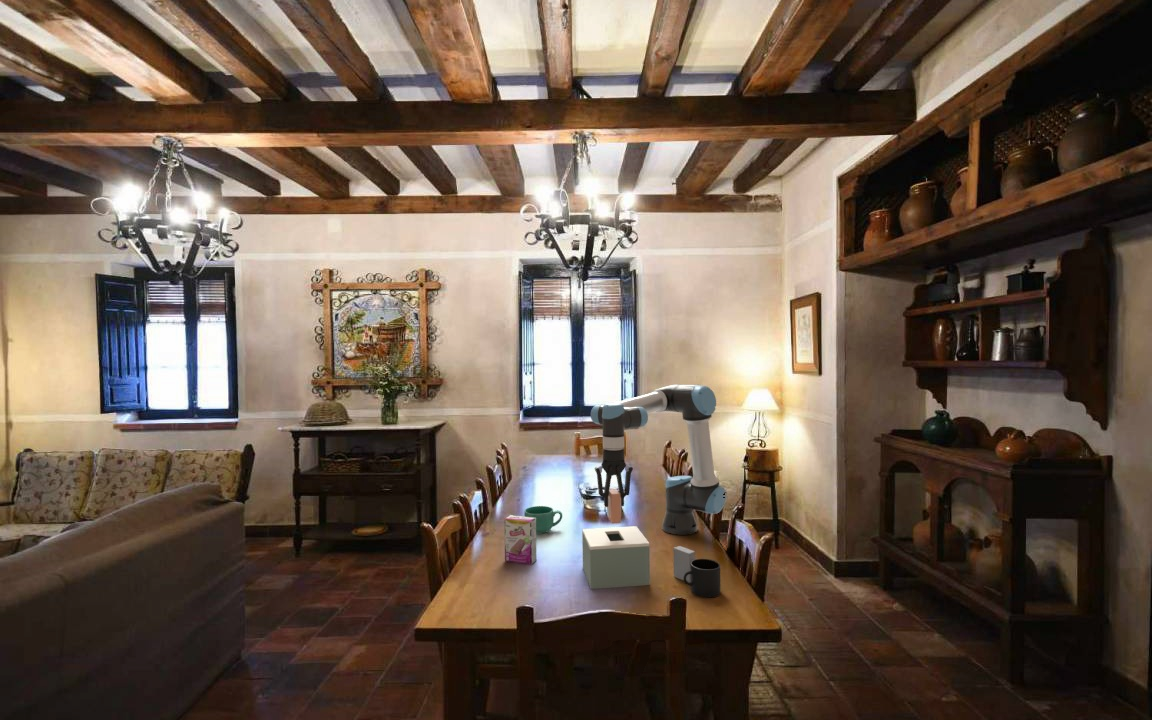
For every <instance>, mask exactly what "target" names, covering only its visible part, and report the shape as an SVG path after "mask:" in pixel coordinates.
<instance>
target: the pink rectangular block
mask: <svg viewBox="0 0 1152 720" xmlns="http://www.w3.org/2000/svg"><path fill="white" fill-rule="evenodd" d="M609 497H610V498H611V517H608V516H607V517H608V520H609V522H611V524H621V522H622V519H621V517H622V507H621V508H620V493H619V489H618V488H610V489H609Z"/></svg>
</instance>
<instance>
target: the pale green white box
mask: <svg viewBox="0 0 1152 720" xmlns="http://www.w3.org/2000/svg"><path fill="white" fill-rule="evenodd" d="M581 530H582V533H581V535H582V537H581V539H582V541H581V543H582V570H583V573H584V575H585V577H586V580H587V582H588V586H589V588H590V590H596V589H608V588H609V589H610V588H624V587H625V588H626V587H638V586H639V587H641V586H651V573H650V569H651V568H650V566H651V565H650V562H651V561H650V556H651V555H650V553H651V552H650V551H651V550H650V542H649V541H648V539H647V538H646V537H645V536H644V534H643V533H642V531H640V529H639V528H638V526H637V525H636V526H633V525H632V526H619V527H618V526H617V527H615V526H614V527H600V528H599V527H598V528H597V527H596V528H582V529H581Z"/></svg>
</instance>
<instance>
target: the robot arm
mask: <svg viewBox="0 0 1152 720" xmlns="http://www.w3.org/2000/svg"><path fill="white" fill-rule="evenodd" d="M716 407H717V398H716V395H715V392H714V391H713V390H712V389H711V388H710V387H709V386H706V385H701V384H700V385H699V384H672V385H667V386H663V387H660V388H656V389H653V390H652V391H650V392H649V393H647V394H643V395H640V396H636V397H632V398H628V399H625V400H620V401H617V402H614V403H613V402H612V403H605V404H595V405H594V406H593V407H592V409H591V411H590V418H591V421H592V422H593V423H594V424H596V425H600V426H602V447H603V449H602V462H601V465H599V466H595V467H594V471H595V473H596V479H597V487H598V488H597V489H598V495H599V496H600V498H601V497H603V505H604V506H603V507H605V508H606V517H611V498H610V497H609V489H611V480H612V476H615V477H616V482H617V489H618V492H619V493H620V508H621V509H622V507H624V506H625V497H626V496H629V495H630V489H631V476H632V472H633V469H634V468H633V467H632V466H631V465H628V464H626V461H625V449H624V448H625V430H630V429H639V428H642V427H643V428H644V426H646V425H647V423H648V421H649V414H650V413H651V414H652V413H654V412H656V413H663V412H673V413H680V414H682V420H683V421H684V422H686V424H687V433H688V440H689V449H690V457H691V466H692V467H691V468H692V476H691V475H677V476H676V475H675V476H670V477H668V478H667V479H666V480H665V513H664V517H663V519H662V523H661V529H663V530H662V531H663V532H665V533H667V534H670V533H671V535H676V534H677V536H678V535H679V536H685V535H686V536H687V534H689V535H693V534H696V533H697V532H698V524H697V521H696V520H697V519H696V518H695V515H694V511H699V512H703V513H705V514H713V515H715V514H716V515H717V514H718V513H720V512H721V511H722V510H723V508H724V506H725V504H726V501H727V490H726V488H725V487H723V486H722V485H720V481H719V477H717V476H715V469H714V460H713V459H714V458H713V451H712V449H713V448H712V442H711V434H710V433H711V432H710V425H709V423H710V422H709V421H710V420H711V418H712V417H713V414H714V413H715V411H716V409H717V408H716ZM603 470H604V472H605V473H606V474H605V484H604V487H603V478H602V472H603ZM624 470H625V480H624V484H623V480H622V479H623V478H622V473H623V471H624ZM623 485H624V486H623ZM603 488H604V489H603ZM724 492H726V493H725V495H723V494H724ZM723 497H725V498H723ZM695 532H696V533H695Z"/></svg>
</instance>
